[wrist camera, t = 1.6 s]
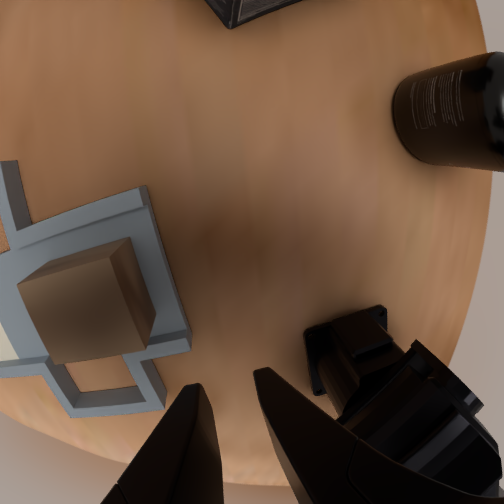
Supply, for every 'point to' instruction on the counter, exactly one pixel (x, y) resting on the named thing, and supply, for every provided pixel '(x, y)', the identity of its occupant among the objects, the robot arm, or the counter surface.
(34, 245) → the trap tray
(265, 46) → the counter surface
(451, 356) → the counter surface
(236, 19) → the small box
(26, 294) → the walnut block
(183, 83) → the counter surface
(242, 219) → the counter surface
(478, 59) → the supplement bottle
